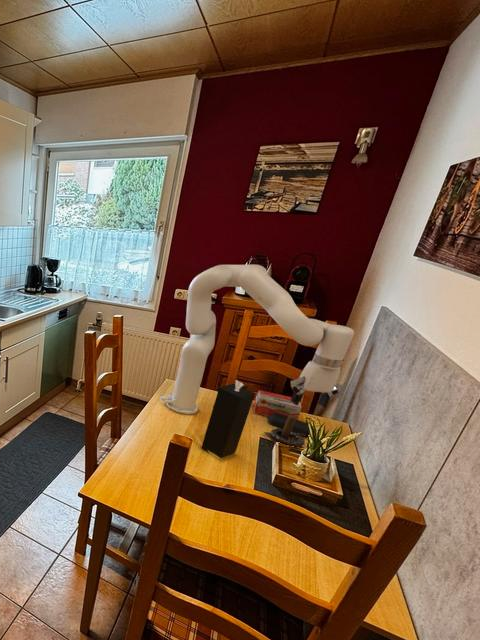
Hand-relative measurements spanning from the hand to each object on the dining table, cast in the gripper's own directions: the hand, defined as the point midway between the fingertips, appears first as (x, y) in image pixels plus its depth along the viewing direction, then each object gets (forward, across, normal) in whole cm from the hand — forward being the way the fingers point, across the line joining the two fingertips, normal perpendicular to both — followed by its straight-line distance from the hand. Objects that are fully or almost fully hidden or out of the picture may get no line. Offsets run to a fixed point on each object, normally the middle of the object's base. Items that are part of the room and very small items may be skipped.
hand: (307, 404), depth 140 cm
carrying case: (+17, -6, -10) cm, 21 cm away
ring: (+14, +2, 0) cm, 15 cm away
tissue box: (+17, +32, +10) cm, 37 cm away
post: (+17, +4, 0) cm, 17 cm away
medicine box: (+17, -6, -22) cm, 28 cm away
